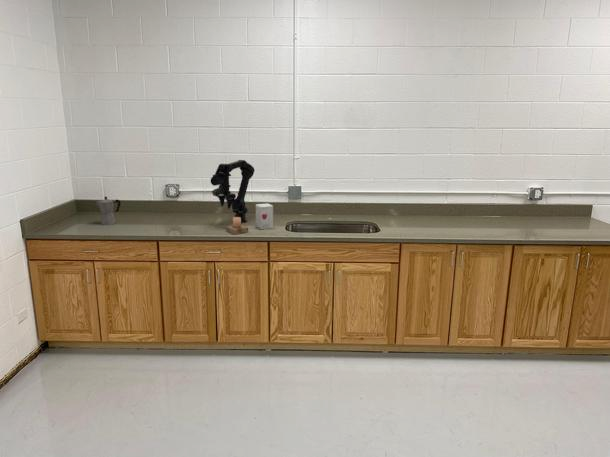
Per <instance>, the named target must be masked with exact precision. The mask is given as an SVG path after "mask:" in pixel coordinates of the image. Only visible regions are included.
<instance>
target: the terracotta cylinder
mask: <svg viewBox="0 0 610 457" xmlns="http://www.w3.org/2000/svg"><path fill="white" fill-rule="evenodd" d="M241 225H242V222H241V217H235V216H233V217H232V226H233V228H241Z"/></svg>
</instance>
